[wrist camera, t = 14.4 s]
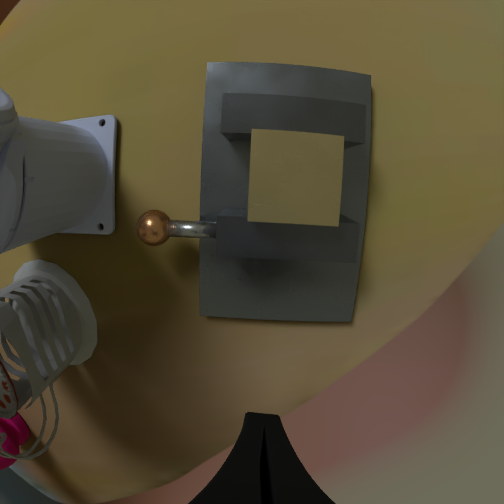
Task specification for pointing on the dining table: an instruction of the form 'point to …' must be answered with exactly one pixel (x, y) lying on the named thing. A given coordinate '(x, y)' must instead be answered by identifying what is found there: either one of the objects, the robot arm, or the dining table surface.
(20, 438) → the pepper mill
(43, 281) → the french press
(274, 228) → the sliding jaw
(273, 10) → the dining table surface
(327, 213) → the brass block
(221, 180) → the vise
